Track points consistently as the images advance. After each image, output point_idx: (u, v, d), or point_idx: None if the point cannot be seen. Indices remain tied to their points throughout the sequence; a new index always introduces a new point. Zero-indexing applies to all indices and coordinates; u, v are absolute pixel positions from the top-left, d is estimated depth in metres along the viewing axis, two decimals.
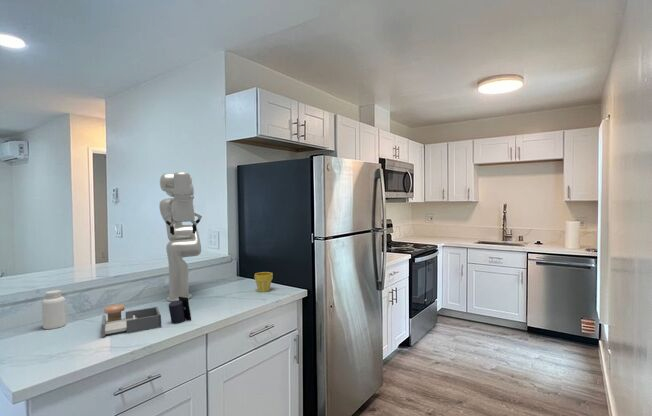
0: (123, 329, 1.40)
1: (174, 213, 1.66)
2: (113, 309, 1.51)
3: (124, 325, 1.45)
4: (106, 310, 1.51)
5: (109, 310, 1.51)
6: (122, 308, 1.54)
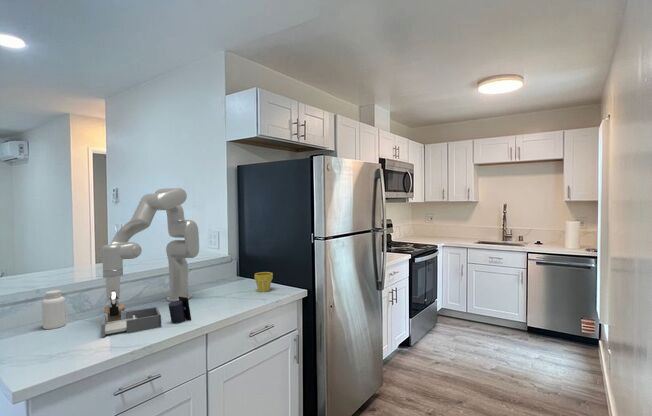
0: (123, 329, 1.40)
1: (119, 290, 1.52)
2: None
3: (124, 325, 1.45)
4: (106, 310, 1.51)
5: (109, 310, 1.51)
6: (122, 308, 1.54)
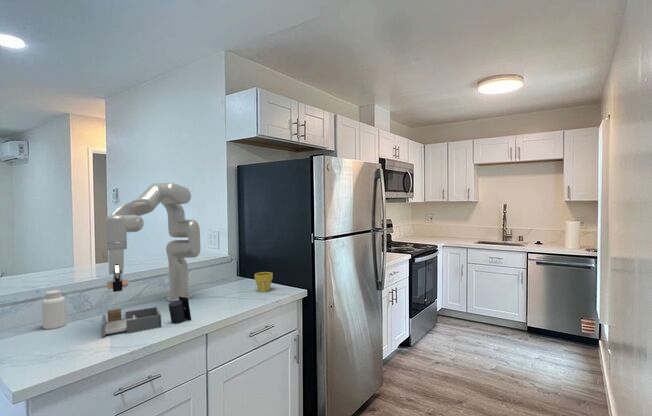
0: (123, 329, 1.40)
1: (123, 264, 1.42)
2: None
3: (124, 325, 1.45)
4: (109, 285, 1.41)
5: (112, 285, 1.41)
6: (126, 283, 1.44)
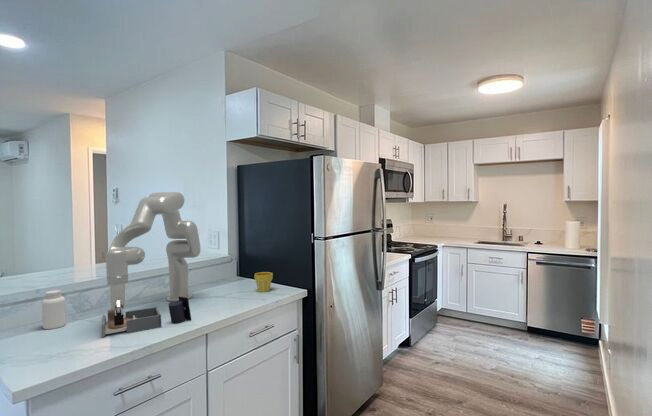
0: (123, 329, 1.40)
1: (124, 298, 1.42)
2: None
3: None
4: (110, 325, 1.42)
5: (114, 325, 1.41)
6: None
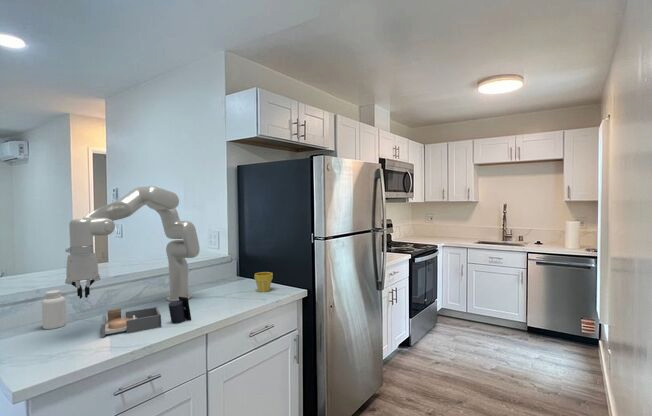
0: (123, 329, 1.40)
1: None
2: (118, 324, 1.42)
3: None
4: (111, 325, 1.42)
5: (114, 325, 1.41)
6: None
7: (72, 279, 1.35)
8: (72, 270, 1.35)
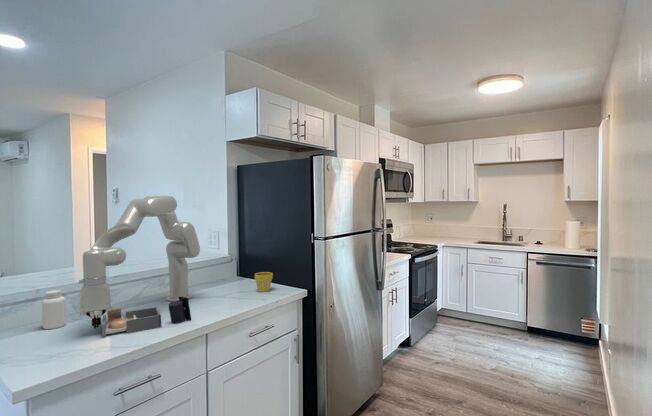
0: (123, 329, 1.41)
1: None
2: (119, 324, 1.42)
3: None
4: (111, 325, 1.42)
5: (114, 325, 1.41)
6: None
7: (85, 310, 1.37)
8: (85, 301, 1.37)
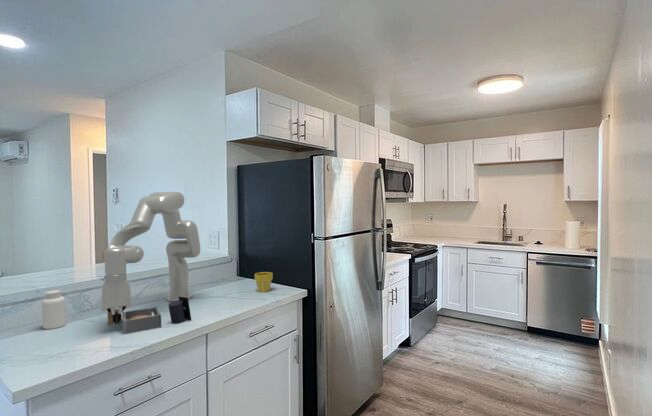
0: None
1: None
2: None
3: None
4: None
5: None
6: None
7: (107, 306, 1.41)
8: (107, 298, 1.41)
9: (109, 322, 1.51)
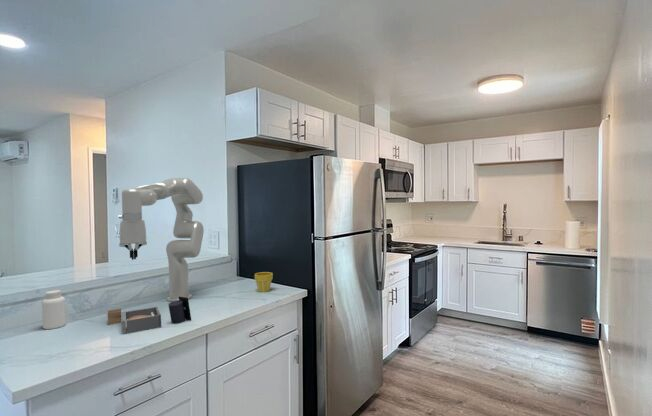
0: None
1: None
2: None
3: None
4: None
5: None
6: None
7: (125, 242, 1.52)
8: (125, 234, 1.52)
9: (109, 322, 1.51)
